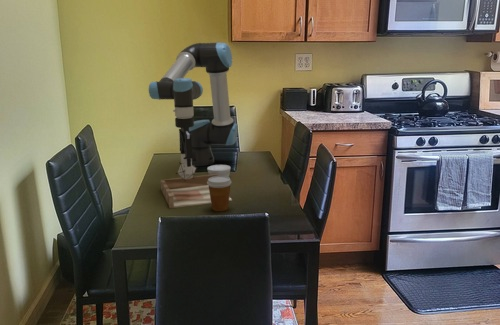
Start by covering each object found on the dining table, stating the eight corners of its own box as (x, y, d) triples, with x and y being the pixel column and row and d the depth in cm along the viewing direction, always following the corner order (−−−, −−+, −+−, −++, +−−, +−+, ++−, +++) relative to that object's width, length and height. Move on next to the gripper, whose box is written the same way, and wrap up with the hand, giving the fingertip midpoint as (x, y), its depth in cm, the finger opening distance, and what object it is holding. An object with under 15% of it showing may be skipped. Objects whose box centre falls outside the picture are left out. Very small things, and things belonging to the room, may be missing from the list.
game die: (183, 189, 190) (168, 172, 186) (189, 177, 197) (174, 160, 193) (199, 181, 186) (183, 163, 182) (204, 169, 192) (189, 152, 189)
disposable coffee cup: (203, 209, 177) (201, 180, 174) (218, 202, 184) (217, 174, 181) (222, 214, 172) (221, 184, 169) (237, 207, 179) (236, 177, 176)
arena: (161, 190, 201) (160, 179, 200) (216, 184, 209) (216, 174, 208) (170, 208, 179) (169, 196, 177) (232, 200, 187) (231, 189, 185)
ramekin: (203, 177, 221) (202, 167, 219) (221, 173, 228) (221, 163, 226) (216, 182, 212) (216, 171, 211) (235, 178, 219) (235, 167, 218)
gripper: (170, 114, 192) (173, 166, 198) (179, 121, 173) (182, 178, 179) (188, 113, 194) (190, 164, 200) (199, 120, 175) (201, 176, 181)
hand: (186, 171), depth 189 cm, fingers closed on game die, 8 cm apart
